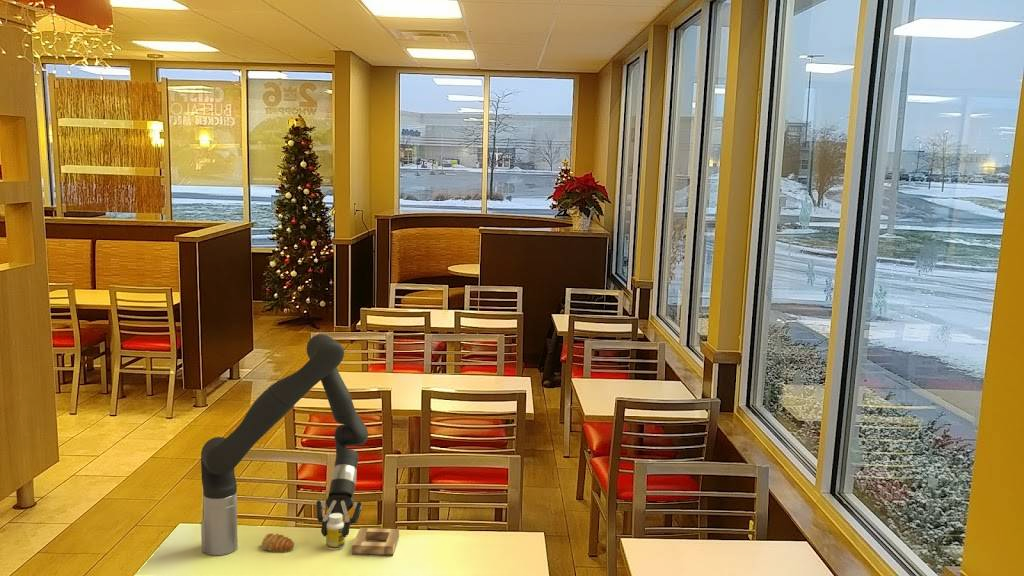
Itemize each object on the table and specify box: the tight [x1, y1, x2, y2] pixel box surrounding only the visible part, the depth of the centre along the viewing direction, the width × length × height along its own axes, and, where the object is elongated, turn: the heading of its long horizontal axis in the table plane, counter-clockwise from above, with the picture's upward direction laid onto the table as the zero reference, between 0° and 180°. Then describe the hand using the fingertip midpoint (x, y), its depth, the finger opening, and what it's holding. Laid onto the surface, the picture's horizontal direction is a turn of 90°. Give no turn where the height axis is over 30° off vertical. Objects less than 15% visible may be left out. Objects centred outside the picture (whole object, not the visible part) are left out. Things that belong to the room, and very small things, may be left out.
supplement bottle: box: [325, 513, 346, 551], centre depth 240 cm, size 5×5×10 cm
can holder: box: [351, 527, 400, 557], centre depth 241 cm, size 12×12×3 cm
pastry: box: [261, 533, 295, 553], centre depth 238 cm, size 9×7×4 cm
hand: (334, 535), depth 238 cm, fingers closed on supplement bottle, 5 cm apart
